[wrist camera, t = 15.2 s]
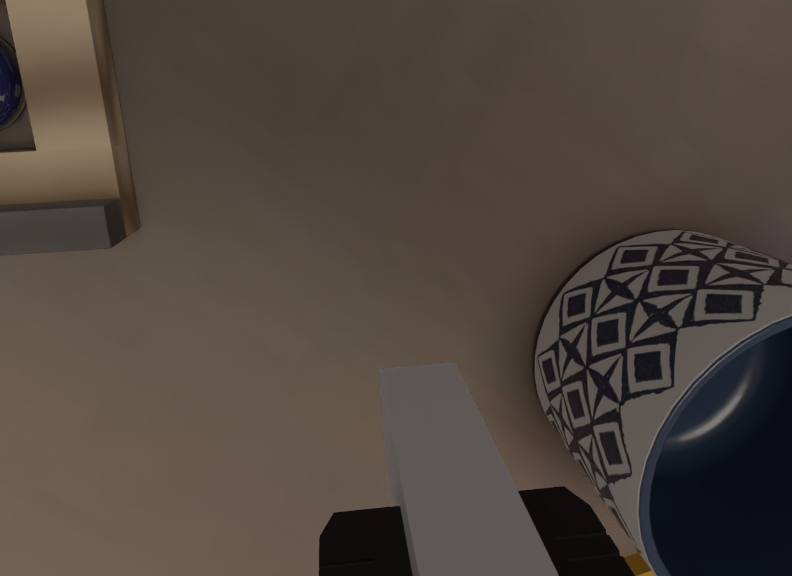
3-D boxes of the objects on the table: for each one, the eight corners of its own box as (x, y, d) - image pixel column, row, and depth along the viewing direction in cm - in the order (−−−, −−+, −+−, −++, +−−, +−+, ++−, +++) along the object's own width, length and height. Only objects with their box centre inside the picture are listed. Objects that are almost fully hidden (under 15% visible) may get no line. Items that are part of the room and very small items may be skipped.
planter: (559, 491, 43) (669, 677, 29) (504, 274, 38) (604, 375, 24) (784, 418, 43) (998, 569, 29) (756, 193, 38) (998, 248, 24)
